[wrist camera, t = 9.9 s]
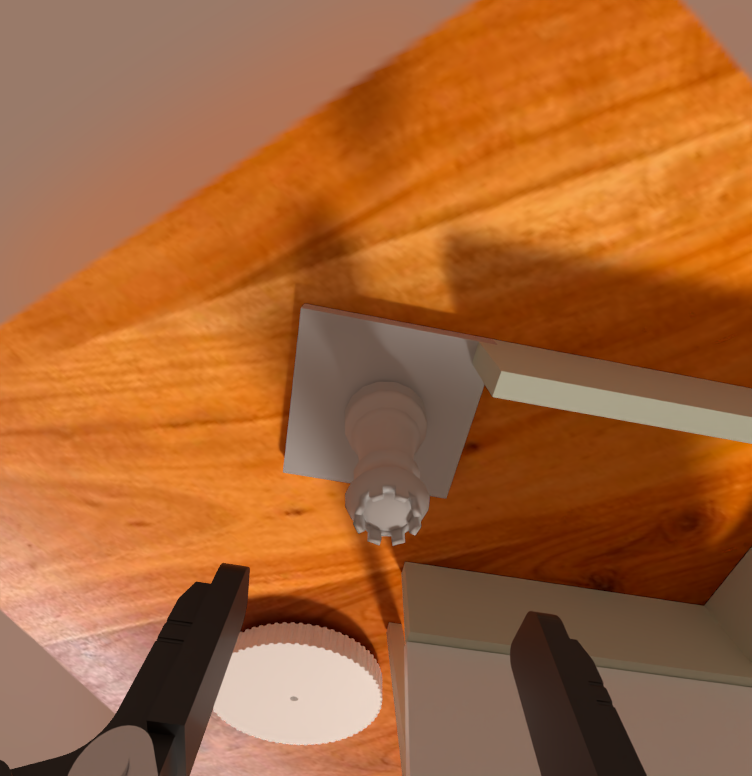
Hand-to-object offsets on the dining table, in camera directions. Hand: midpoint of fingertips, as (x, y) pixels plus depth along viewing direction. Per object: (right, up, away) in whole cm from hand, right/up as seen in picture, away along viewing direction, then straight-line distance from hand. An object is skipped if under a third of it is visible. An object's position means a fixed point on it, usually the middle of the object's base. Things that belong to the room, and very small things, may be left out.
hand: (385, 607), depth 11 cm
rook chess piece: (0, +5, +10) cm, 12 cm away
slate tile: (0, +5, +11) cm, 12 cm away
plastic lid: (-7, -17, +22) cm, 29 cm away
